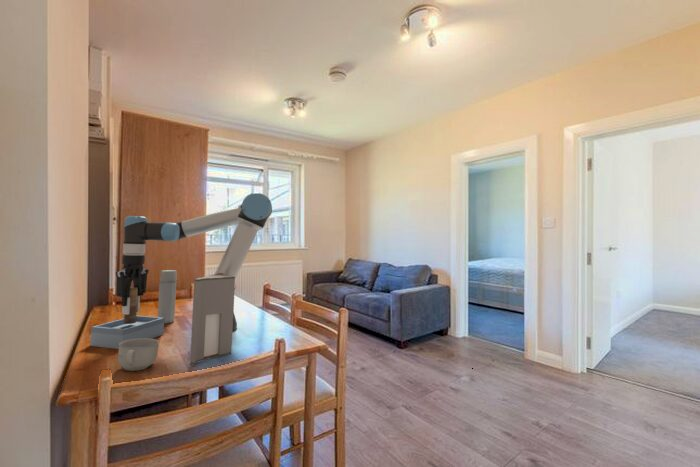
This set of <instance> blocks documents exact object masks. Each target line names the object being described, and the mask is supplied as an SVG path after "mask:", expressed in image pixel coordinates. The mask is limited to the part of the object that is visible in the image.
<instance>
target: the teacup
mask: <svg viewBox="0 0 700 467" xmlns="http://www.w3.org/2000/svg"><path fill="white" fill-rule="evenodd" d="M159 344H160V341H159V340H158V339H156V338H152V339H150V338H138V339H131V340H126V341H123V342H121V343H119V349H118V353H117V363H118V365H119V366H120V367H121V368H122V369H123V370H125V371H130V372H132V371H133V372H134V371H141V370H145V369H147V368H149V367H150V366H151V365H153V364H154V363H155V361H157V360H156V359H157V357H158V351H159Z"/></svg>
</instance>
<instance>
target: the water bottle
mask: <svg viewBox="0 0 700 467" xmlns="http://www.w3.org/2000/svg"><path fill="white" fill-rule="evenodd" d="M177 274H178V273H177V270H176V269H175V270H173V269H166V270H165V269H164V270H161V271H160V277H159V279H158V280H159V288H158V307H157V309H158V310H157V317H160V318H164V324H171V323H173V322H174V321H175V315H176V293H177V282H178V280H177V279H178V276H177Z"/></svg>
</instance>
